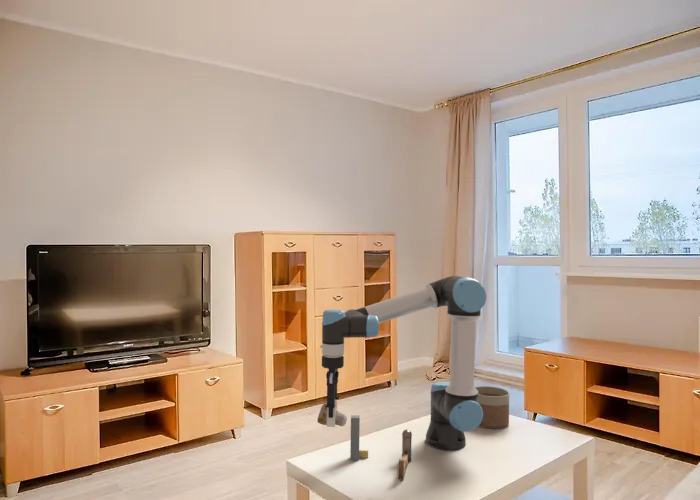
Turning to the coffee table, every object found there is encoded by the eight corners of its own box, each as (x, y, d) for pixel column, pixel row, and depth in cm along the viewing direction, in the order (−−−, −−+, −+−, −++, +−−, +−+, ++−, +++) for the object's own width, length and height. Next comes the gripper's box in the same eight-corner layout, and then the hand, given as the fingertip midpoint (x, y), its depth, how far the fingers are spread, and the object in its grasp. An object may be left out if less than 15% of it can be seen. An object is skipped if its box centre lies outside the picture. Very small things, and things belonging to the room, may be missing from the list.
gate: (403, 462, 180) (403, 445, 180) (408, 462, 180) (408, 445, 179) (398, 479, 167) (398, 460, 167) (403, 479, 166) (403, 461, 166)
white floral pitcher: (347, 430, 171) (332, 405, 170) (323, 439, 175) (308, 414, 174) (353, 418, 178) (339, 393, 177) (330, 426, 182) (316, 402, 181)
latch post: (368, 456, 185) (368, 415, 185) (367, 461, 181) (368, 418, 181) (350, 456, 185) (351, 414, 185) (350, 460, 182) (350, 417, 182)
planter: (502, 432, 211) (503, 398, 211) (465, 424, 220) (465, 392, 220) (513, 421, 225) (513, 389, 224) (477, 414, 233) (478, 384, 233)
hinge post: (411, 458, 184) (411, 428, 184) (411, 462, 180) (412, 431, 180) (401, 458, 184) (401, 428, 184) (402, 462, 181) (402, 431, 180)
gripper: (324, 349, 186) (323, 412, 186) (318, 361, 166) (317, 432, 167) (345, 349, 186) (344, 413, 186) (341, 362, 166) (340, 433, 166)
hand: (331, 422), depth 176 cm, fingers closed on white floral pitcher, 7 cm apart
